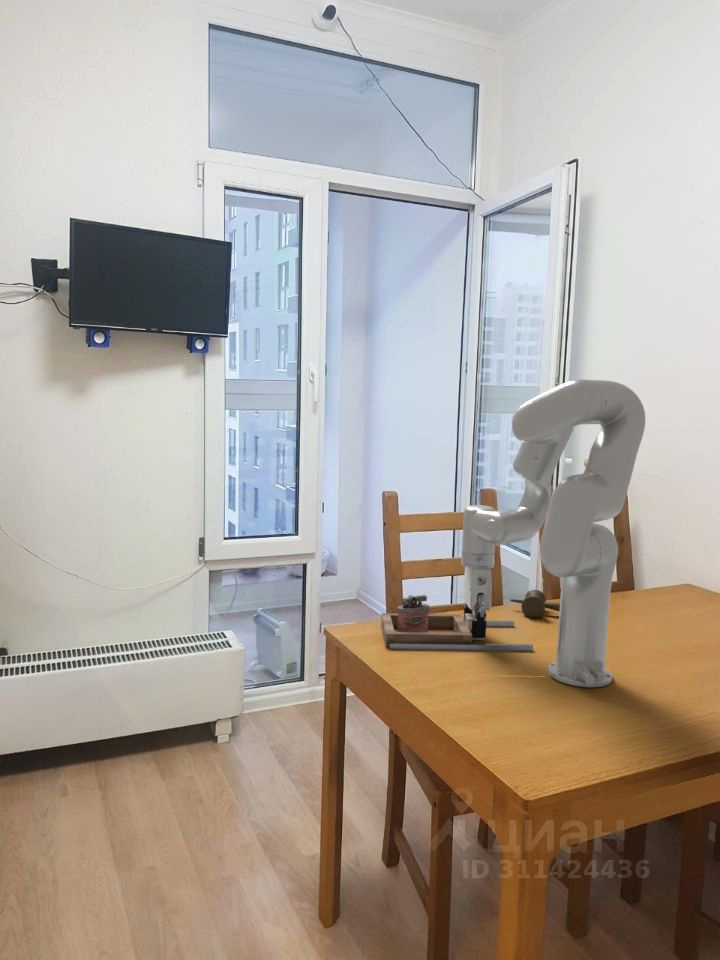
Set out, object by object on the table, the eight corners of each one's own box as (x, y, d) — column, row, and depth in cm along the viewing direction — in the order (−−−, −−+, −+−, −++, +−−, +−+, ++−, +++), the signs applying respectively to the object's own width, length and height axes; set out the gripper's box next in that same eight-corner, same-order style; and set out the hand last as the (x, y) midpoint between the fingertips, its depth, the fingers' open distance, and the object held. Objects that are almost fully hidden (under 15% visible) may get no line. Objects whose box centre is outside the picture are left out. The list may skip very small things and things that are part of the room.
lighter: (400, 641, 165) (401, 599, 164) (393, 636, 168) (395, 595, 167) (430, 637, 168) (432, 596, 167) (424, 633, 171) (425, 592, 170)
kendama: (587, 627, 181) (506, 615, 187) (587, 617, 190) (510, 606, 196) (589, 604, 180) (508, 593, 186) (589, 595, 189) (512, 585, 195)
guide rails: (532, 652, 160) (533, 645, 160) (389, 650, 159) (389, 643, 159) (513, 626, 178) (513, 620, 177) (384, 624, 176) (384, 618, 176)
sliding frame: (489, 648, 161) (490, 626, 160) (385, 646, 160) (386, 625, 160) (476, 626, 176) (477, 606, 175) (381, 625, 175) (381, 605, 174)
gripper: (502, 568, 158) (498, 643, 160) (486, 551, 175) (482, 619, 177) (468, 567, 157) (464, 643, 160) (455, 550, 175) (452, 618, 177)
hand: (474, 630), depth 168 cm, fingers open, 9 cm apart
